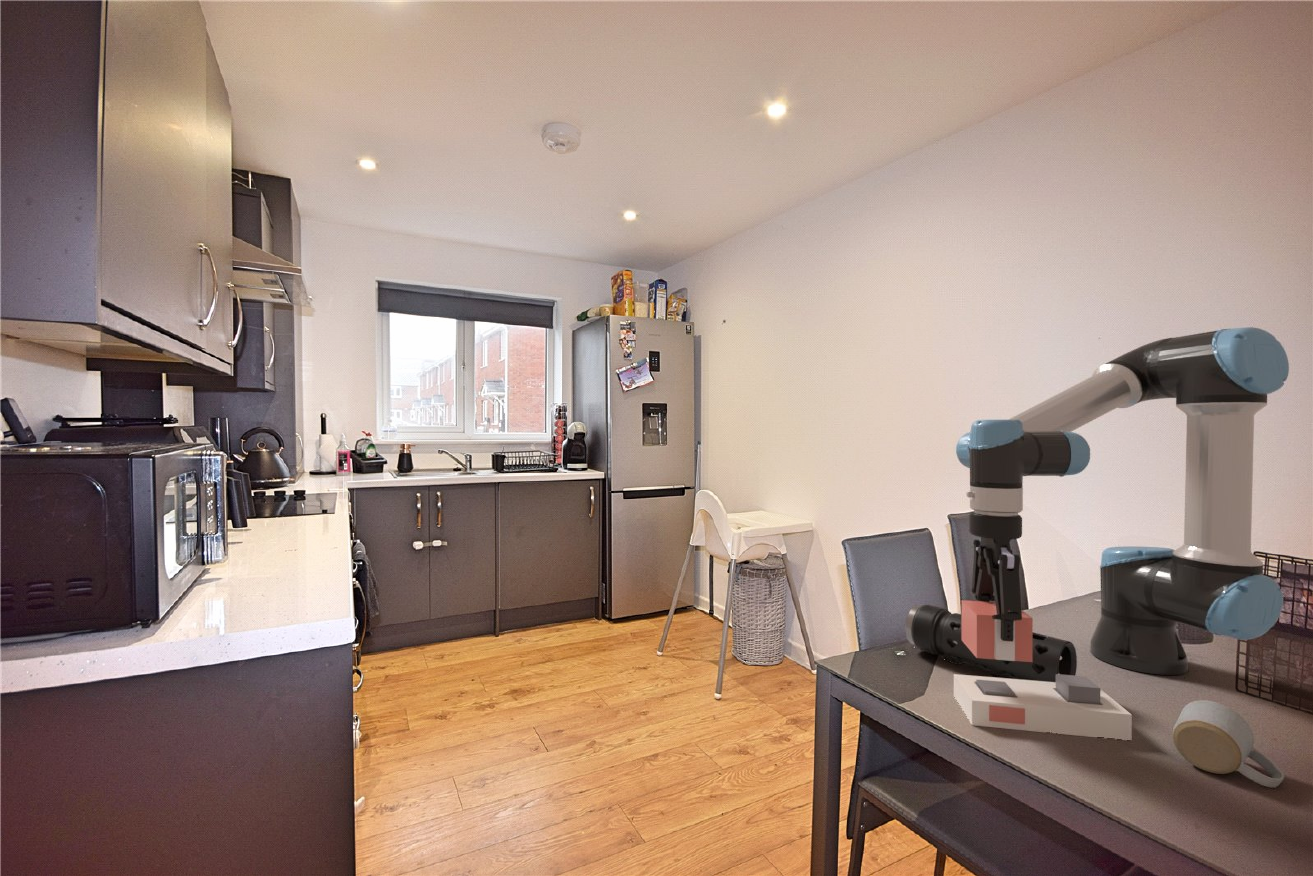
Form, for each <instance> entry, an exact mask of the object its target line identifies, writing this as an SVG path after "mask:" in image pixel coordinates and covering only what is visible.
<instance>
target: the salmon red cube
mask: <svg viewBox="0 0 1313 876" xmlns="http://www.w3.org/2000/svg"><path fill="white" fill-rule="evenodd" d="M1021 611H1022V620H1016V621H1015V661H1023V662H1032V648H1033V632H1034V631H1033V630H1034V629H1033V627H1034V625H1033V623H1034V622H1033V619H1034V618H1033V617H1032V616H1030V615H1029V614H1028V613H1026V612H1025V611H1024V610H1022V609H1021ZM961 614H962V641H963V643H964V644H965V645H966V646H967V647H968V648H969V650H970V651H971V652H972V653H973V654H974V655H975V657H976V658H983V659H995V658H994V619H993V618H992V616H993V615H997V611H996V604H995V601H989V602H984V601H978V600H966V599H965V600H963V599H962V600H961Z"/></svg>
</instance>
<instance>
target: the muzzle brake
mask: <svg viewBox="0 0 1313 876" xmlns="http://www.w3.org/2000/svg"><path fill="white" fill-rule="evenodd" d="M904 632H905V637H906V639H907V641H908V642H909V643H910V644H912V645H914V646H915V647H916V648H917V649H918V650H920V651H923V652H925V653H926V652H927V653H929V654H933V655H935V656H941V659H942V660H943V659H945V660H948V661H951V662H953V663H952V664H955V663H956V664H955V665H958V664H960V665H962V664H963V663H964V664H966V665H969V666H972V667H976V668H980V669H983V670H985V671H988V672H989V673H990V674H991V675H992V676H995V675H996V676H999V677H1001V678H1008V679H1020V680H1033V681H1045V682H1056V674H1061V675H1074V676H1077V668H1078V666H1077V665H1078V657H1077V650H1076V647H1075V645H1074V644H1073V642H1072V641H1070V640H1065V639H1061V638H1057V637H1053V636H1049V635H1046V634H1045V635H1044V634H1041V633H1036V632H1034V631H1033V648H1032V662H1023V661H1008V660H996V659H983V658H976V657H975V655H974V654H973V653H972V652H971V651H970V650H969V648H968V647H967V646H966V645H965V644H964V643H963V641H962V613H958V612H954V613H952V612H951V611H949V610H948V609H946V608H945V607H944V608H943V607H939V606H936V605H932V604H931V605H930V604H923V605H918V604H917V605H913V606H912V607H911V608H910V610H909V611H908V613H907V616H906V619H905V625H904ZM945 660H944V661H945ZM948 661H947V662H948ZM951 662H950V663H951ZM961 663H962V664H961Z"/></svg>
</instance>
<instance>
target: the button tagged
mask: <svg viewBox="0 0 1313 876" xmlns="http://www.w3.org/2000/svg"><path fill="white" fill-rule="evenodd" d="M976 685H977V686H978V688H979V689H980V690H981V692H982V693H983V694H984V695H993V696H1004V697H1015V693H1014V692H1013V691H1012V689H1011V688H1010V687H1009V686H1008V685H1007V684H1006V683H1005V682H1000V681H988V680H976Z"/></svg>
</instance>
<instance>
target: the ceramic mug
mask: <svg viewBox="0 0 1313 876" xmlns="http://www.w3.org/2000/svg"><path fill="white" fill-rule="evenodd" d="M1172 740H1173V743H1174V746H1175V748H1176V749H1177V751H1178V753H1179V754H1180V756H1182V757H1183V758H1184V760H1186V761H1187V762H1189V764H1192V765H1193V766H1194V767H1196V768H1197V769H1200V770H1201V771H1202V770H1203V771H1205V772H1208V773H1211V774H1218V775H1224V774H1231V773H1233V772H1235V771H1236V772H1238V773H1240V774H1241V775H1243V776H1244V777H1246V778H1247V779H1249V780H1251V781H1252V782H1255V783H1256V784H1259V785H1260V786H1264V787H1267V788H1273V787H1274V788H1277V787H1278V786H1279V785H1280V784H1281V783H1282V782H1283V780H1284V779H1285V775H1284V772H1282V770H1281V769H1280V768H1279V766H1278V765H1276V763H1275V762H1274V761H1272V760H1271V759H1270V758H1269V757H1268V756H1266V755H1265V754H1264V753H1262V752H1261V751H1259V750H1258V749H1256V748H1255V747H1254V746H1255V734H1254V732H1253V730H1252V728H1251V726H1250V725H1249V723H1248V722H1247V720H1246V719H1245V718H1244V717H1242V716H1241V714H1239V713H1238V711H1235V710H1234V709H1233V708H1231V707H1229V706H1227V705H1226V704H1222V703H1220V702H1217V701H1213V700H1207V699H1205V700H1204V699H1202V700H1201V699H1199V700H1195V701H1190V702H1189V703H1187V704H1186V705H1185V706H1184V707H1183V709H1182V710H1181V713H1180V715H1179V716H1178V718H1177V720H1176V722H1175V724H1174V726H1173V729H1172ZM1247 758H1249V759H1251V760H1252V761H1254V762H1255V763H1256V764H1258V765H1259V766H1260V767H1261V768H1263V770H1265V771H1266V772H1267V773H1268V774H1269V775H1270V776H1271V777H1269V776H1267V775H1266V774H1263V773H1262V772H1260V771H1258V770H1256V769H1254V768H1253V767H1251V765H1248V764H1247V763H1245V762H1246V760H1247ZM1276 786H1277V787H1276Z"/></svg>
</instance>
